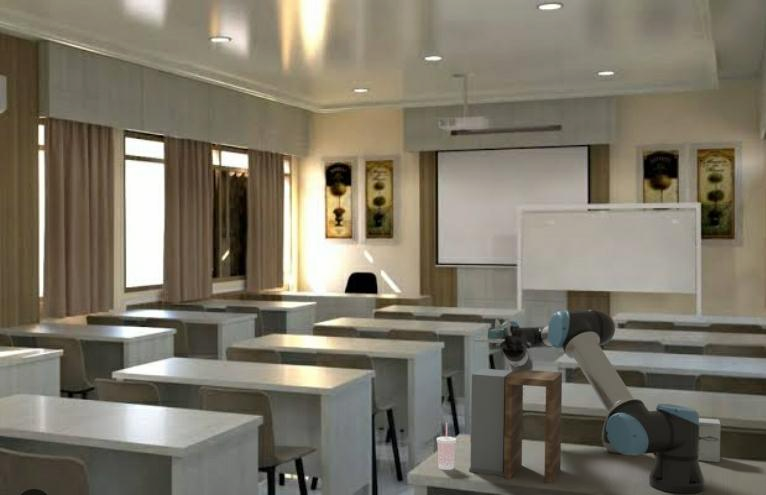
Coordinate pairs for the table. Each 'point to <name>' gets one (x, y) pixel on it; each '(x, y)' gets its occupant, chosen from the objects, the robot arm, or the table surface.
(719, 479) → the table surface
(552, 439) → the riser
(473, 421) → the pedestal
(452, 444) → the beverage cup
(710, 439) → the supplement box
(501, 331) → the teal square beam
